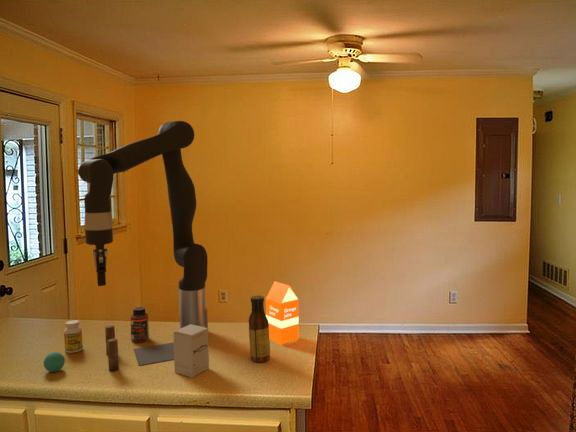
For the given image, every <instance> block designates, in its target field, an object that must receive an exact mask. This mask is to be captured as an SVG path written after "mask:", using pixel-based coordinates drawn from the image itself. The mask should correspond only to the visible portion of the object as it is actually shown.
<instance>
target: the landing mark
mask: <svg viewBox="0 0 576 432" xmlns="http://www.w3.org/2000/svg"><path fill="white" fill-rule="evenodd" d="M133 352H134V355H135V358H136V361H137V365H138V367H141V366H146V365H152V364H156V363H158V364H159V363H163V362H164V363H165V362H169V361H174V341H173V342H169V343H168V342H167V343H162V344H156V345H151V346H150V345H149V346H143V347H139V348H133Z"/></svg>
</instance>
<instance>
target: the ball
mask: <svg viewBox="0 0 576 432" xmlns="http://www.w3.org/2000/svg"><path fill="white" fill-rule="evenodd" d="M65 362H66V360H65V356H64V355H63V354H62V353H60V352H58V351H55V352H51V353H48V354H47V355H46V356H45V357H44V360H43V367H44V369H45V370H46V371H48V372H50V373H56V372H58V371H60V370H61V369H63V367H64V365H65Z"/></svg>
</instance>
